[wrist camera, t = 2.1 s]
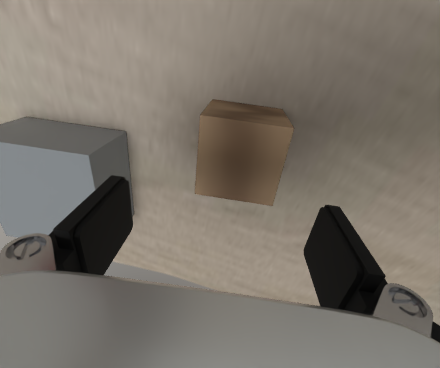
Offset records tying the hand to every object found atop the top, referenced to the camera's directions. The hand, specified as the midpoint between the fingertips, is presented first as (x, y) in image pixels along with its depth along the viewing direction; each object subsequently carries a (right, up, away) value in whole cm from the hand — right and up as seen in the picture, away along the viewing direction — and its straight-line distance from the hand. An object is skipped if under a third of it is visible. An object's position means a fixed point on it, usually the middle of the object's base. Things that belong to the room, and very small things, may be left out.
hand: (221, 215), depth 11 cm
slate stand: (-15, +3, +13) cm, 20 cm away
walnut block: (+2, +6, +10) cm, 12 cm away
